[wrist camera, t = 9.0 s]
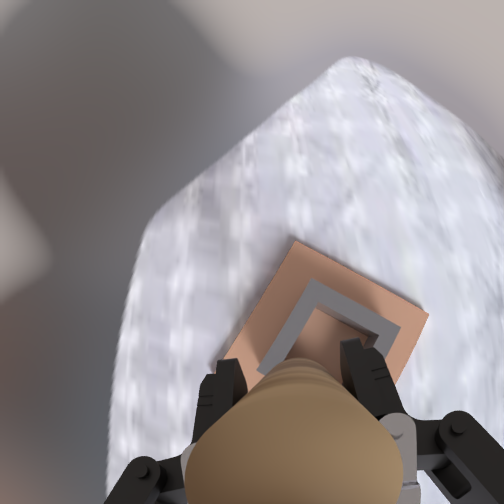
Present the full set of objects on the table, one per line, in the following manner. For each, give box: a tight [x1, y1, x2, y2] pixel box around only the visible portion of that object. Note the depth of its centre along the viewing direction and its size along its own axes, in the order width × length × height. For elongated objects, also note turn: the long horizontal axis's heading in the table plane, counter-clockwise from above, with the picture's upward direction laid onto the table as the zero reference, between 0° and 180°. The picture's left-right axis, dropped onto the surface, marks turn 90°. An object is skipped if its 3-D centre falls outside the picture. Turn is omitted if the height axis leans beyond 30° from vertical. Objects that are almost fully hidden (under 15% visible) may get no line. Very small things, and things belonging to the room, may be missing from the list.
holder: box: [214, 240, 429, 392], centre depth 26 cm, size 16×16×5 cm
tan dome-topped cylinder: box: [184, 358, 403, 504], centre depth 10 cm, size 4×4×12 cm
